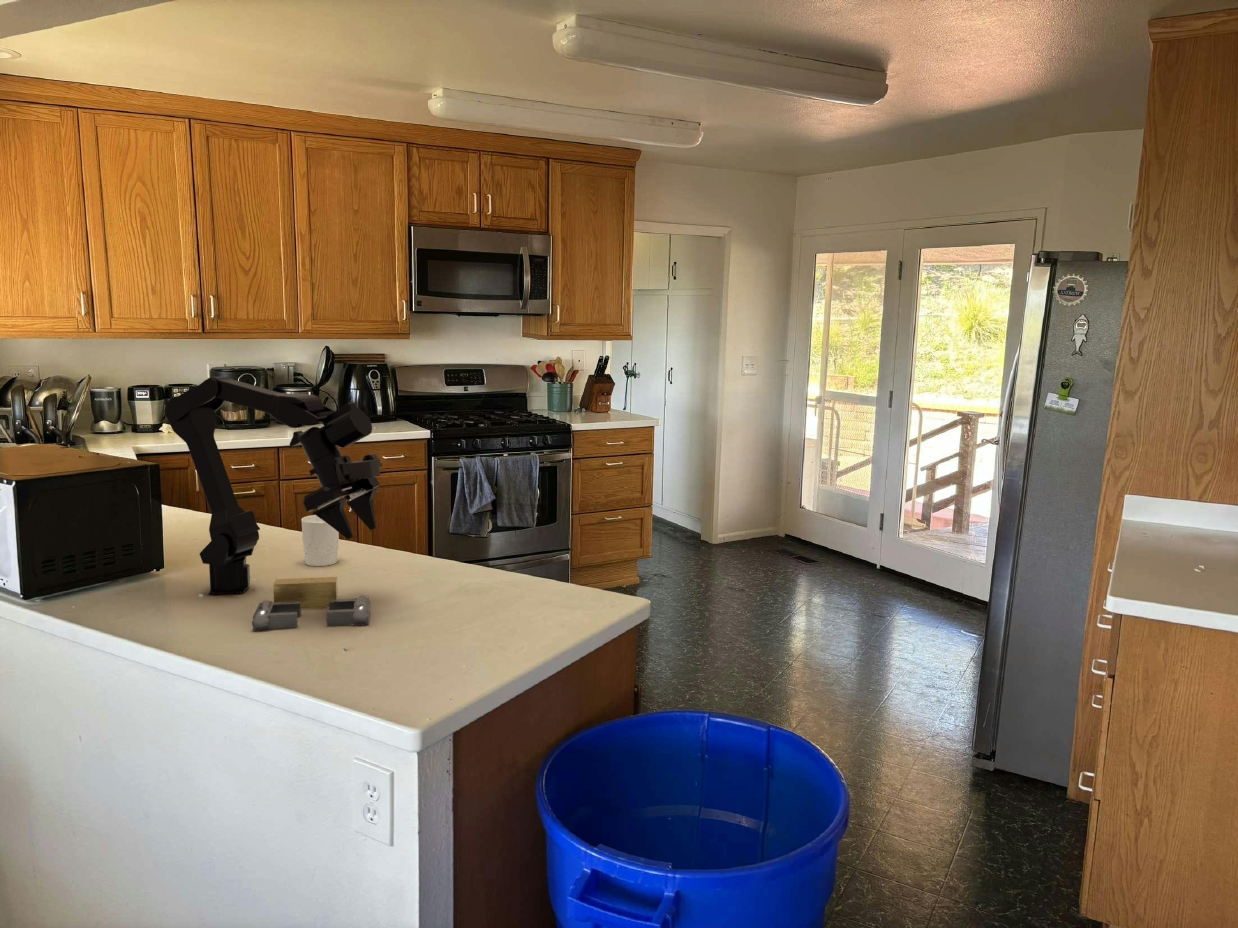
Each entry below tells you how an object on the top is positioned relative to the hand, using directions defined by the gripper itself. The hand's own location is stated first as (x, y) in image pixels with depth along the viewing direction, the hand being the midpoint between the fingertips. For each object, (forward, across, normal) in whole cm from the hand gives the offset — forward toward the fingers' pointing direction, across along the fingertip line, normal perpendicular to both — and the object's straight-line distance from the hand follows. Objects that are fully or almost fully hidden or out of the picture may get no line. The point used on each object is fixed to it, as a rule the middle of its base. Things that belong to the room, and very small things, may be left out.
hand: (362, 533), depth 161 cm
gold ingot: (+8, -1, +16) cm, 18 cm away
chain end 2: (+13, -6, +6) cm, 16 cm away
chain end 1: (+8, -11, +16) cm, 21 cm away
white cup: (+1, +26, +26) cm, 37 cm away
